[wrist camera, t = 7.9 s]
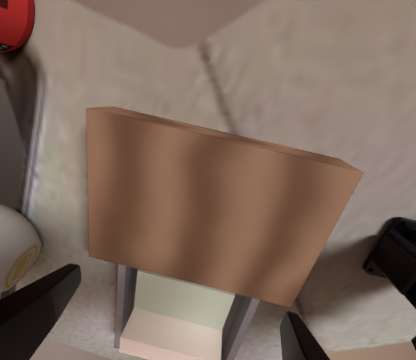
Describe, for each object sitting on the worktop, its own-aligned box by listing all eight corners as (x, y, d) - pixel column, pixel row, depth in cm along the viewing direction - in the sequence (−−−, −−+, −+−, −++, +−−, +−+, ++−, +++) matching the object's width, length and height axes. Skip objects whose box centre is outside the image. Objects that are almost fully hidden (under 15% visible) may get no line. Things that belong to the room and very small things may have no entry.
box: (258, 273, 23) (261, 297, 20) (226, 350, 28) (226, 377, 26) (132, 241, 23) (118, 261, 20) (125, 323, 29) (114, 347, 26)
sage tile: (234, 275, 23) (235, 295, 20) (223, 308, 25) (221, 330, 22) (147, 253, 23) (137, 270, 20) (142, 288, 25) (133, 307, 23)
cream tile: (220, 363, 20) (214, 377, 21) (223, 309, 25) (218, 322, 26) (120, 337, 20) (119, 351, 21) (143, 288, 25) (141, 302, 26)
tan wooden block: (339, 158, 17) (363, 172, 14) (282, 277, 23) (290, 307, 19) (112, 106, 18) (85, 108, 15) (109, 234, 23) (89, 256, 20)
